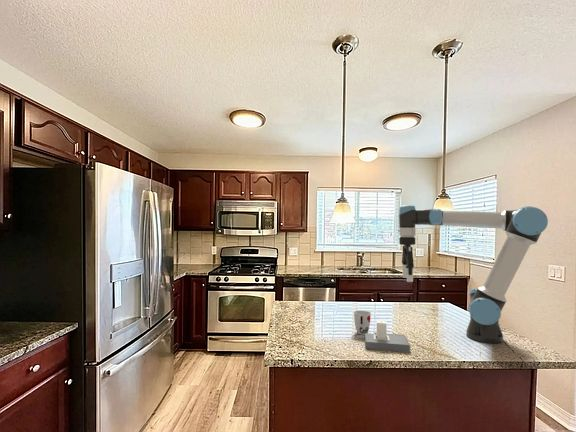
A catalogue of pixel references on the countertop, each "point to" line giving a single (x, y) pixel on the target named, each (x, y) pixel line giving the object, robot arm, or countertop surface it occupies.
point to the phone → (393, 334)
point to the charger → (381, 329)
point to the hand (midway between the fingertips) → (407, 279)
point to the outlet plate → (387, 343)
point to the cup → (362, 321)
